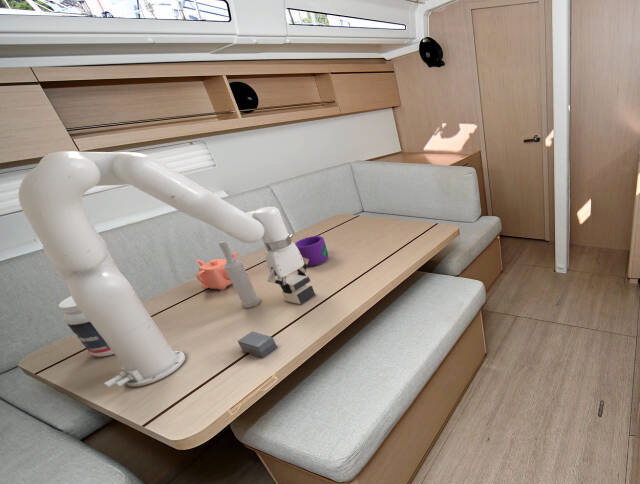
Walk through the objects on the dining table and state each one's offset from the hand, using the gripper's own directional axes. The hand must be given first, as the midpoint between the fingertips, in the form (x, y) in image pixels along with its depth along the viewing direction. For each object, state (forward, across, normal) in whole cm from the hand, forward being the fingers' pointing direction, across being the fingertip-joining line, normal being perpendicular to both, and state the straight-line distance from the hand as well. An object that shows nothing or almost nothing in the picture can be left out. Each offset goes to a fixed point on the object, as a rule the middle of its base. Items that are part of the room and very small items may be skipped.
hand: (296, 287), depth 126 cm
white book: (-1, 0, 0) cm, 1 cm away
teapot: (+5, 0, -41) cm, 41 cm away
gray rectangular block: (+4, +24, +12) cm, 27 cm away
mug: (+5, -26, -20) cm, 33 cm away
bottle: (+5, +8, -15) cm, 18 cm away
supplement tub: (+5, +36, -36) cm, 51 cm away
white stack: (+5, 0, 0) cm, 5 cm away
